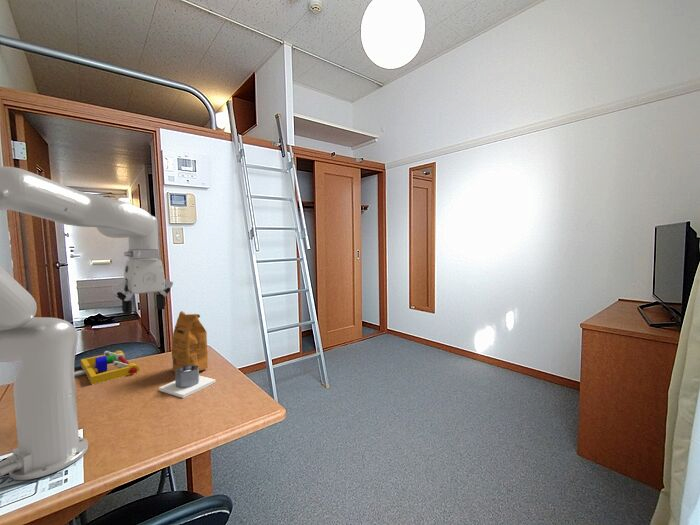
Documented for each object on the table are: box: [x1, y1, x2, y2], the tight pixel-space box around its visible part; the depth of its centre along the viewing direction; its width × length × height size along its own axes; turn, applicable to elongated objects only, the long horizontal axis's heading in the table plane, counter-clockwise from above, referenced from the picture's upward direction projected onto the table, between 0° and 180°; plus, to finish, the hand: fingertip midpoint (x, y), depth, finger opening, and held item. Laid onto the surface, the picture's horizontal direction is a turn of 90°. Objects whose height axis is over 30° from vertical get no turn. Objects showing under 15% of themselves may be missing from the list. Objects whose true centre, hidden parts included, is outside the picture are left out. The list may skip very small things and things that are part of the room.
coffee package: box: [171, 311, 209, 373], centre depth 117 cm, size 10×12×22 cm
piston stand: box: [158, 370, 216, 399], centre depth 104 cm, size 12×12×5 cm
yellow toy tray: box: [74, 350, 140, 385], centre depth 119 cm, size 18×6×30 cm
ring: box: [174, 365, 200, 388], centre depth 104 cm, size 7×7×5 cm
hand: (144, 311), depth 96 cm, fingers open, 9 cm apart
